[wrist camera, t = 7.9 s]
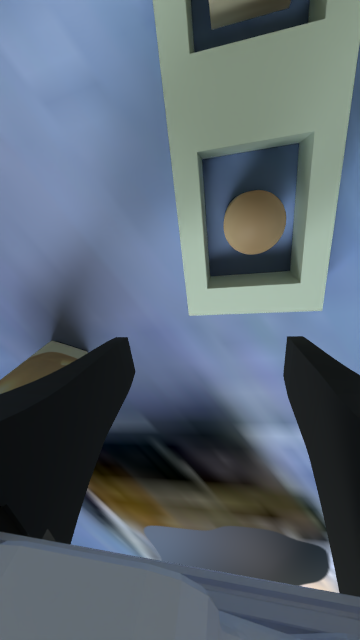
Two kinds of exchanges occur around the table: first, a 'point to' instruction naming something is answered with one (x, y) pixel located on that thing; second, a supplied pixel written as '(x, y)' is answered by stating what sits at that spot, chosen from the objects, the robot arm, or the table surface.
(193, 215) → the green board with holes
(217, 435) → the table surface
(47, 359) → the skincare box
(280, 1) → the maple peg
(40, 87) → the table surface
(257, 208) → the tan cylinder
